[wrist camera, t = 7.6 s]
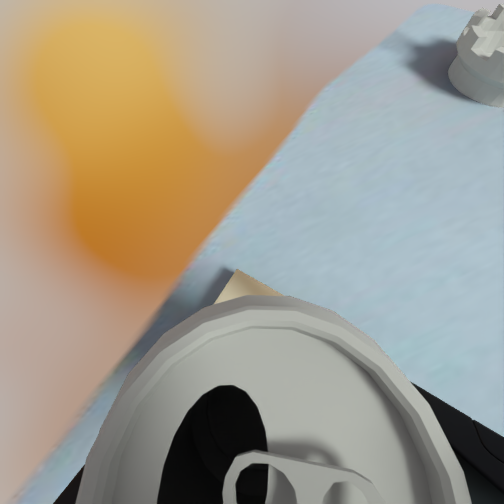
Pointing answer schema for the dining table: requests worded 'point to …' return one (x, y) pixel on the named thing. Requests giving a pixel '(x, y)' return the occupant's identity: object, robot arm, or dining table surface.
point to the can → (270, 417)
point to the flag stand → (481, 59)
